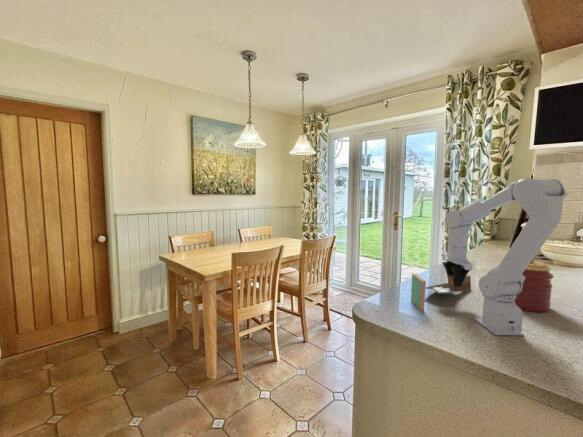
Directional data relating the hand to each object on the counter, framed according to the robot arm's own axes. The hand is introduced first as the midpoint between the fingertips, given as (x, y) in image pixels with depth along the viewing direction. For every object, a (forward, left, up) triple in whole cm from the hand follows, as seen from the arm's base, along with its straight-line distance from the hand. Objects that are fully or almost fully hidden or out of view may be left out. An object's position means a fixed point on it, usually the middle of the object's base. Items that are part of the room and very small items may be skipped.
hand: (454, 284), depth 99 cm
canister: (+1, -25, -8) cm, 27 cm away
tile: (0, +13, -2) cm, 13 cm away
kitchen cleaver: (+11, -5, -6) cm, 13 cm away
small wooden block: (0, +1, -2) cm, 2 cm away
